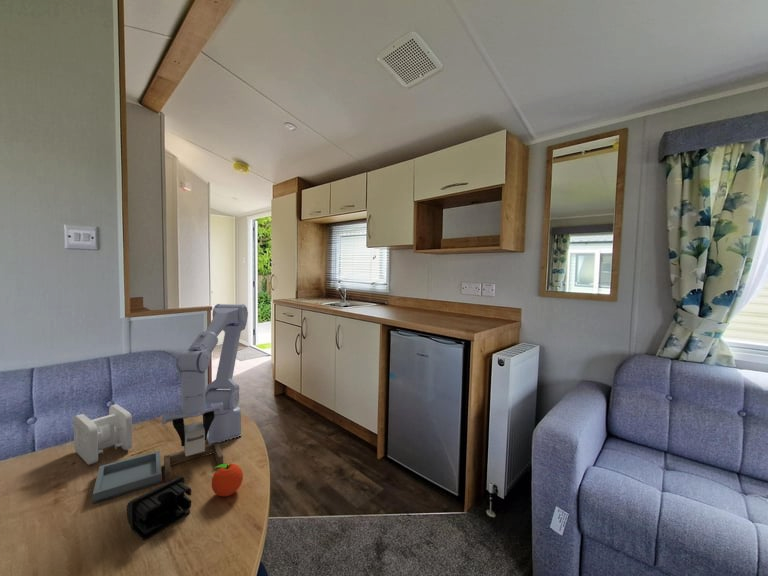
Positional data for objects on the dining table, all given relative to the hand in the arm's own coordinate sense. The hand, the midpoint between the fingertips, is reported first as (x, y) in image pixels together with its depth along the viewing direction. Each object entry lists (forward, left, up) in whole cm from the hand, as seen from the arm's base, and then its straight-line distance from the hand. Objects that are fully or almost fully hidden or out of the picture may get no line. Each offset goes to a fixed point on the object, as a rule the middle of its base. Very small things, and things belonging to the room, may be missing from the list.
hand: (193, 441), depth 88 cm
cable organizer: (+21, -23, -7) cm, 32 cm away
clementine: (-5, +17, -7) cm, 19 cm away
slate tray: (+14, -3, -7) cm, 16 cm away
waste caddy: (0, 0, -2) cm, 2 cm away
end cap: (+8, +18, -7) cm, 21 cm away
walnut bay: (0, 0, -7) cm, 7 cm away
